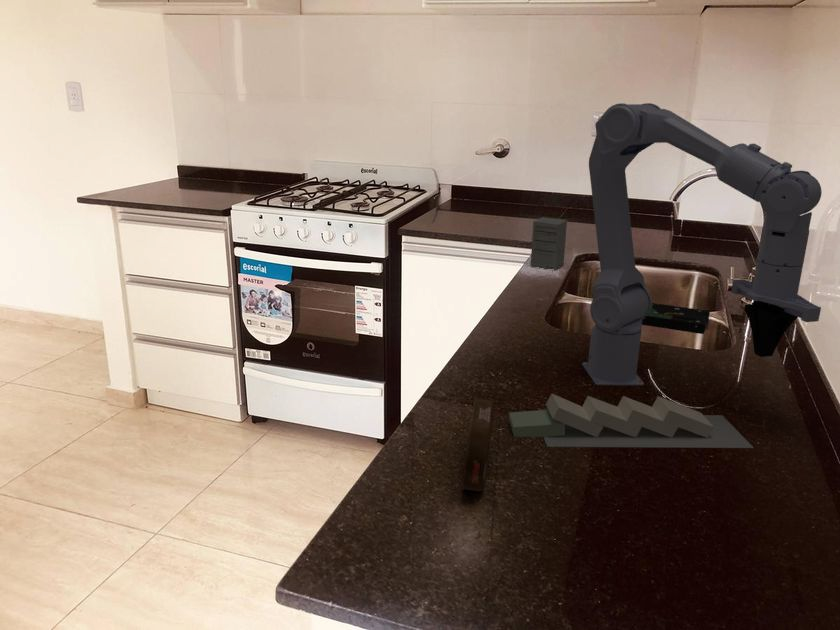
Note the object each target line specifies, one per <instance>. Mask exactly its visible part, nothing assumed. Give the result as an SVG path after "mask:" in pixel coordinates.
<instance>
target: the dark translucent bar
mask: <svg viewBox="0 0 840 630" xmlns="http://www.w3.org/2000/svg"><path fill="white" fill-rule="evenodd" d="M472 407H473V408H472V412H471V420H470V423H469V429H468V430H469V431H468V436H467V437H468V438H467V444H466V451H465V452H466V453H465V460H464V461H465V462H464V467H463V475H462V483H461V490H462V491H464V490H467V491H471V492H472V491H473V492H482V491H484V489H485V481H486V480H485V479H486V473H487V462H488V458H489V451H490V444H491V438H492V437H491V436H492V431H493V430H492V429H493V421H494V413H495V412H494V410H495V409H494V408H495V402H494V401H493V400H490V399H485V398H478V397H476V396H475V397H474V399H473V406H472Z"/></svg>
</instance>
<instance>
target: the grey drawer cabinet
mask: <svg viewBox="0 0 840 630" xmlns="http://www.w3.org/2000/svg"><path fill="white" fill-rule="evenodd" d="M567 224H568V220H567V219H563V218H551V217H544V216H543V217H540V218H538V219H536V220H534V221H533V224H532V237H531V252H530V254H531V255H530V267H531V266H532V267H531V268H533V267H539V268H538V269H540V268H546V269H545V270H547V269H554V270H553V271H557V270H558V269H560V268H561V267H563V266H564V264H565V252H566V251H565V250H566V240H567V239H566V238H567V226H568V225H567ZM562 265H563V266H562ZM556 269H557V270H556Z"/></svg>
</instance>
